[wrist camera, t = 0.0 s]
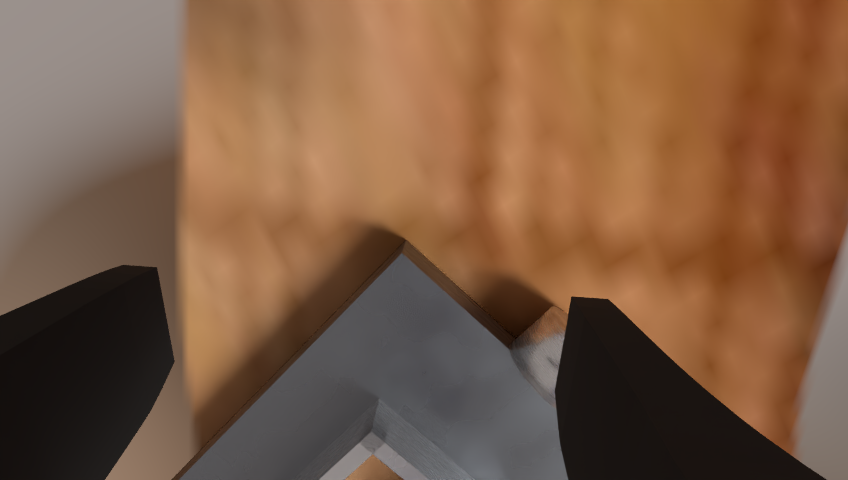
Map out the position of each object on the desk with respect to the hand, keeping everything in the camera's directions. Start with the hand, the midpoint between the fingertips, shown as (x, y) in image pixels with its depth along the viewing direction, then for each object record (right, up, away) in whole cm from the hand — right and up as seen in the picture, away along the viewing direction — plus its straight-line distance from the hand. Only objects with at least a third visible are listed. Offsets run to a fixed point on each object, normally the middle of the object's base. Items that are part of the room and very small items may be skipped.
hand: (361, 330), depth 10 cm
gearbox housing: (0, -8, +14) cm, 16 cm away
